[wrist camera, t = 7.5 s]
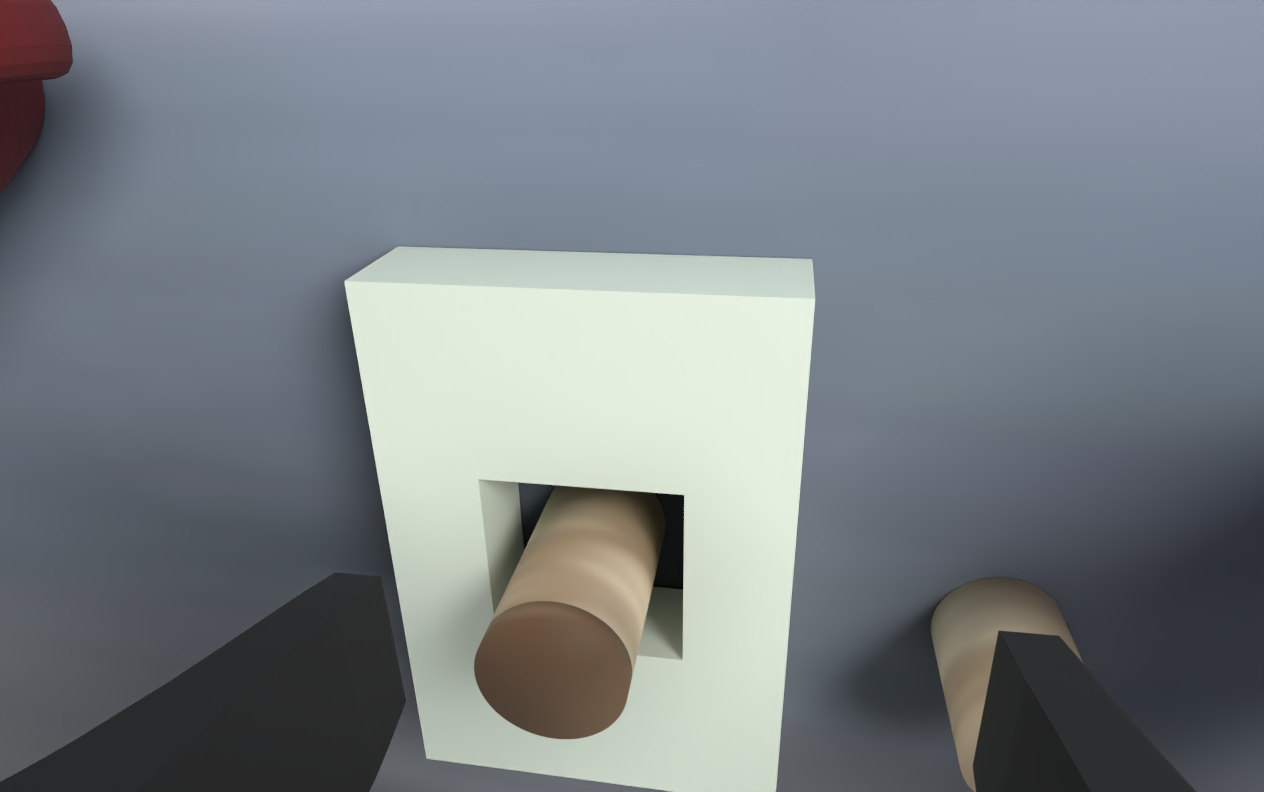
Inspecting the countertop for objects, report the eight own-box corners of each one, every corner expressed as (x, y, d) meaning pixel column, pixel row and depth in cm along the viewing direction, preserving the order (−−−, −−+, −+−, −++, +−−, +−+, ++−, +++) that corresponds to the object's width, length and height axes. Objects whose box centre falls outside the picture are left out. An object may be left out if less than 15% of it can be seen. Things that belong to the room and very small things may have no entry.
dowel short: (1074, 583, 19) (1139, 715, 16) (1050, 681, 21) (1103, 825, 17) (939, 571, 20) (971, 697, 16) (923, 668, 21) (949, 805, 18)
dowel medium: (677, 484, 20) (641, 643, 15) (652, 581, 21) (612, 756, 17) (556, 454, 20) (482, 601, 15) (539, 551, 22) (466, 715, 17)
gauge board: (812, 259, 17) (815, 299, 15) (776, 725, 23) (774, 804, 21) (397, 246, 19) (344, 281, 16) (460, 688, 24) (426, 758, 22)
